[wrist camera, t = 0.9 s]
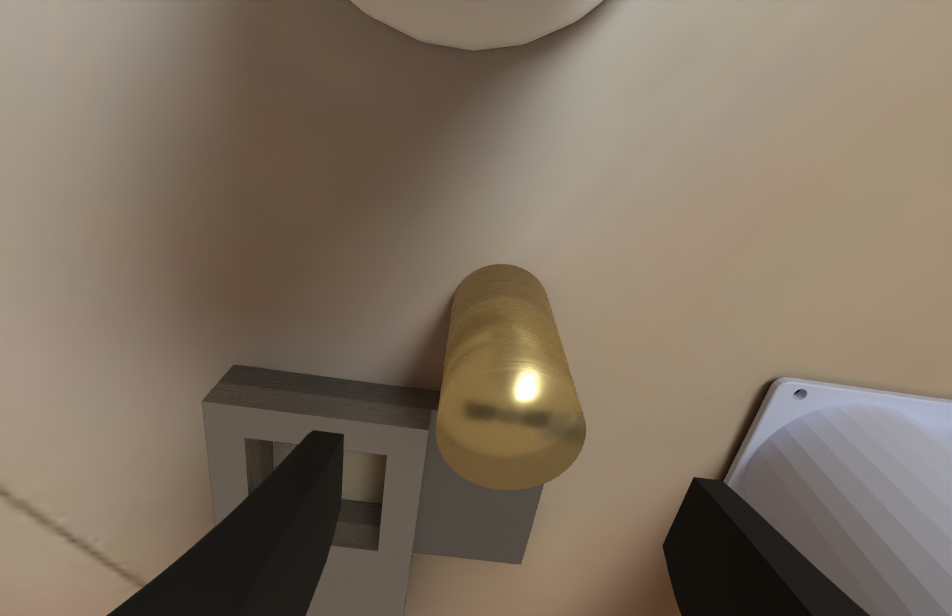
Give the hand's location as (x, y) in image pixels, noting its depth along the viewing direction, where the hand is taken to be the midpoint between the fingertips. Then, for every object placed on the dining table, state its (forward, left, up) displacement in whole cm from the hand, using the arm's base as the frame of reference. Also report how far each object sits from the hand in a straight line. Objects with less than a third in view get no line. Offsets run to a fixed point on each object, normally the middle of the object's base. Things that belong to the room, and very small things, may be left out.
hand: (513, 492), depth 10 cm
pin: (0, 0, -9) cm, 9 cm away
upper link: (+6, +13, -9) cm, 16 cm away
